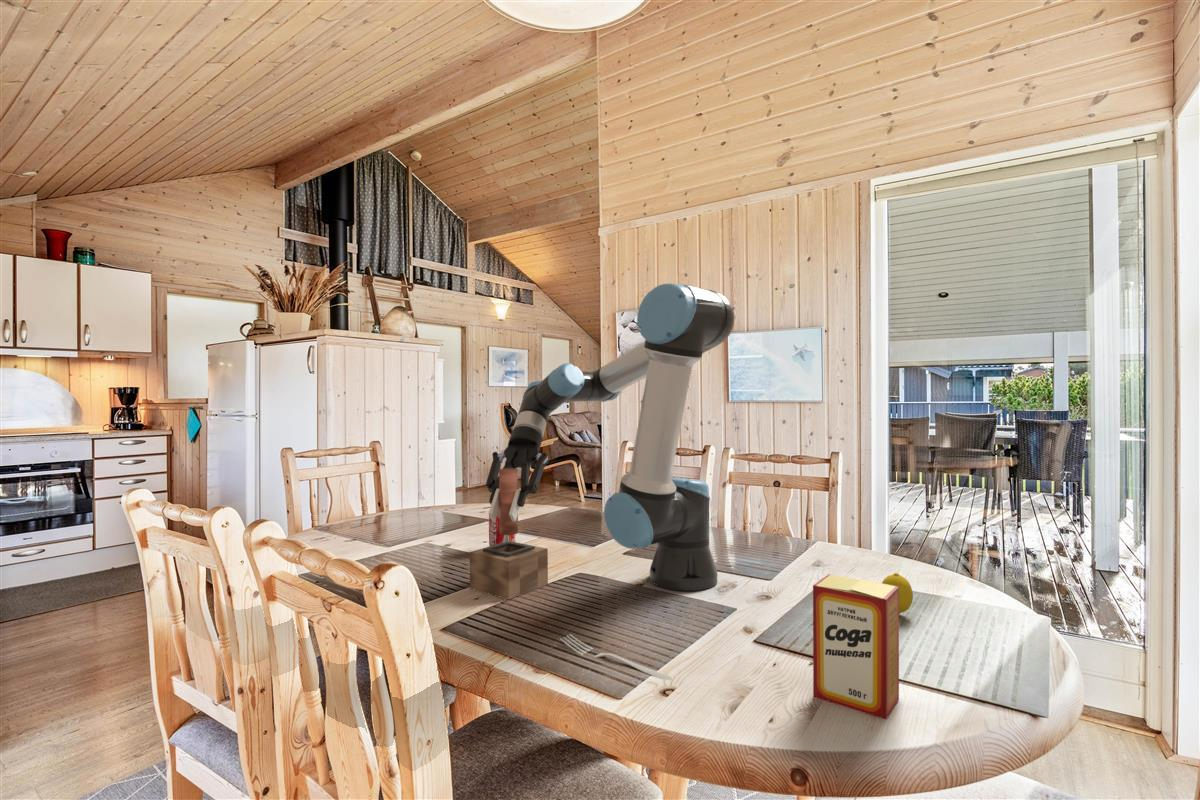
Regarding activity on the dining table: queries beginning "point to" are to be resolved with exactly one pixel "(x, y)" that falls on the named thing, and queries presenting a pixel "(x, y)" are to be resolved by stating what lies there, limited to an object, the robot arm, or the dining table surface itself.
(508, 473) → the peg
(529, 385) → the robot arm
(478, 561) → the socket block
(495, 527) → the soda can
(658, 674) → the fork
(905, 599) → the lemon
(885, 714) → the baking soda box
